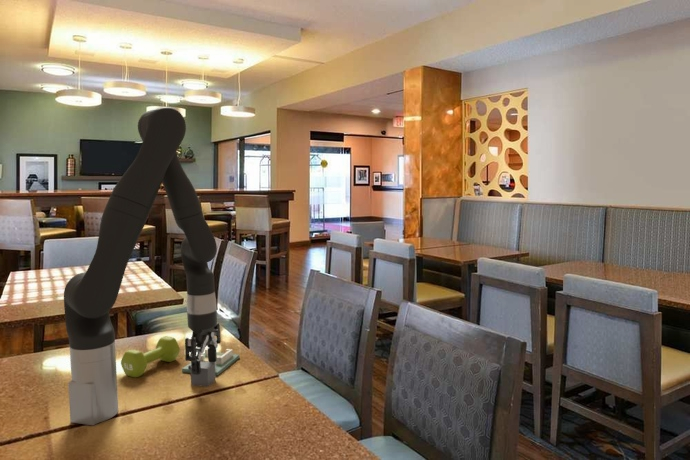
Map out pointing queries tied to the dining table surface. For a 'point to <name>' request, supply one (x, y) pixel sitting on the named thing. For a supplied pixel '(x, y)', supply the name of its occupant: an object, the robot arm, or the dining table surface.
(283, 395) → the dining table surface
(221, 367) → the board
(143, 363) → the dumbbell
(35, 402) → the dining table surface
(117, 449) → the dining table surface
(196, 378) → the plug
